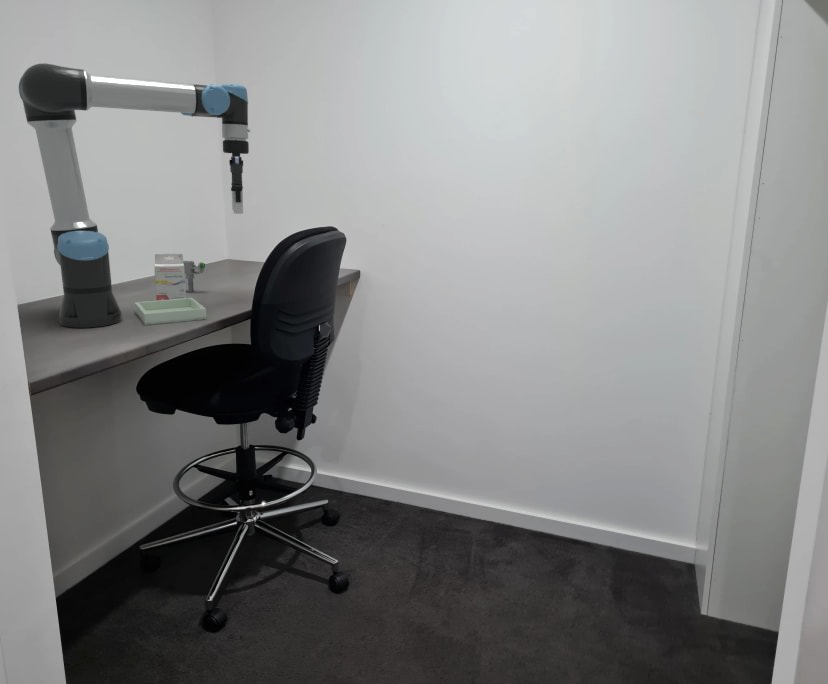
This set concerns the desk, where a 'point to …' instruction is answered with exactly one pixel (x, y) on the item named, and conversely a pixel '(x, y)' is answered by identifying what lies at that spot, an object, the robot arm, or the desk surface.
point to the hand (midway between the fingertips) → (237, 211)
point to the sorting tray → (170, 311)
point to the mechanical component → (192, 272)
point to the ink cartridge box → (169, 277)
